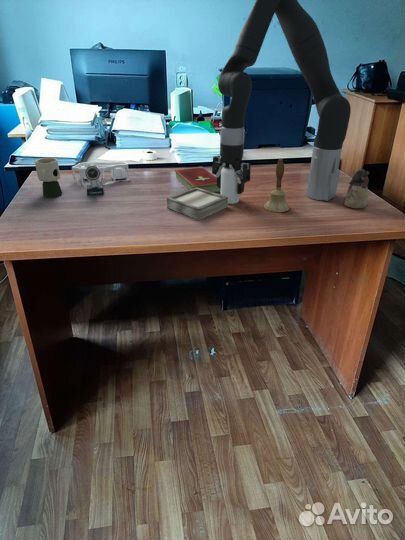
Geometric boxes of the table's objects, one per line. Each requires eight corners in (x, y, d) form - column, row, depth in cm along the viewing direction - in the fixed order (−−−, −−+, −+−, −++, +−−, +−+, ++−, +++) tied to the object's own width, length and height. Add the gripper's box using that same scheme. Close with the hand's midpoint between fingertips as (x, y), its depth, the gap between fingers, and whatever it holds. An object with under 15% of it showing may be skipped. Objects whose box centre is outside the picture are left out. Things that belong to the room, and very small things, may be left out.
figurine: (356, 199, 138) (363, 165, 131) (370, 207, 132) (379, 171, 126) (339, 202, 135) (346, 167, 129) (353, 209, 130) (361, 173, 124)
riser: (227, 207, 131) (227, 197, 129) (198, 220, 122) (198, 209, 120) (196, 197, 139) (196, 187, 137) (167, 208, 130) (166, 197, 128)
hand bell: (270, 213, 127) (275, 164, 119) (260, 204, 134) (264, 156, 125) (293, 211, 129) (300, 162, 120) (282, 202, 136) (288, 154, 127)
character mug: (60, 203, 133) (52, 164, 127) (38, 203, 133) (29, 165, 126) (67, 192, 143) (61, 155, 136) (47, 192, 142) (39, 156, 136)
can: (239, 204, 133) (241, 169, 127) (220, 204, 133) (221, 169, 127) (238, 197, 139) (240, 163, 132) (220, 197, 139) (221, 163, 133)
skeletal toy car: (131, 178, 157) (129, 159, 153) (128, 187, 147) (126, 168, 144) (80, 178, 156) (77, 160, 152) (73, 188, 147) (70, 168, 143)
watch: (87, 199, 136) (83, 168, 131) (88, 191, 143) (83, 161, 137) (104, 198, 138) (100, 167, 132) (104, 190, 144) (100, 160, 139)
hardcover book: (202, 176, 160) (202, 165, 158) (224, 193, 144) (224, 181, 142) (174, 179, 157) (174, 169, 154) (193, 197, 140) (193, 186, 138)
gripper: (257, 143, 124) (253, 192, 132) (222, 135, 132) (220, 183, 141) (242, 147, 119) (239, 198, 128) (207, 139, 127) (206, 188, 136)
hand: (229, 190), depth 134 cm, fingers open, 8 cm apart
